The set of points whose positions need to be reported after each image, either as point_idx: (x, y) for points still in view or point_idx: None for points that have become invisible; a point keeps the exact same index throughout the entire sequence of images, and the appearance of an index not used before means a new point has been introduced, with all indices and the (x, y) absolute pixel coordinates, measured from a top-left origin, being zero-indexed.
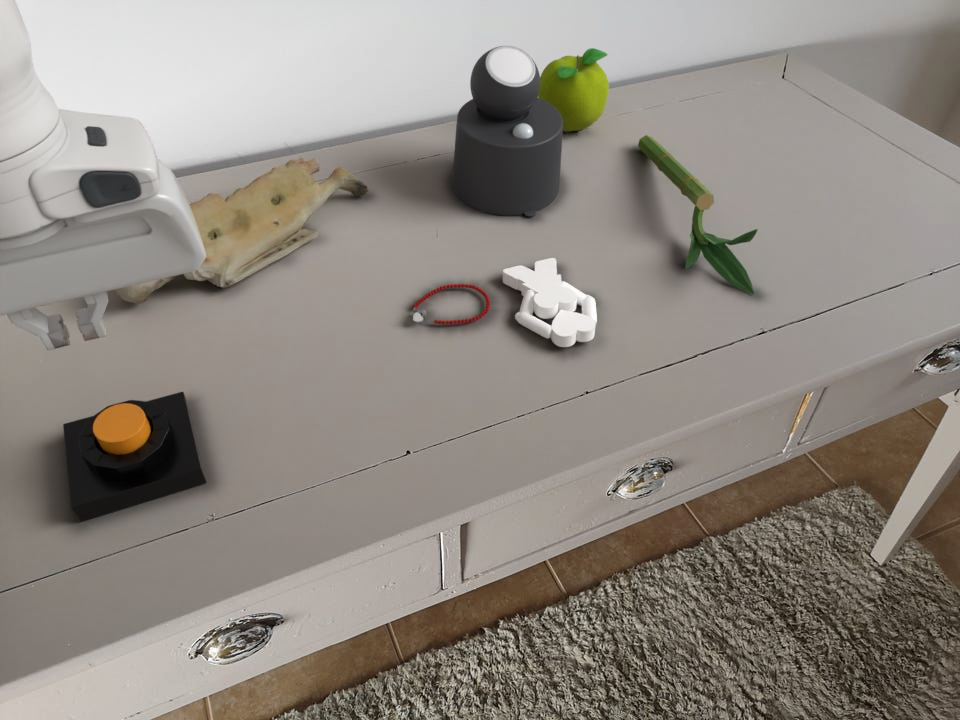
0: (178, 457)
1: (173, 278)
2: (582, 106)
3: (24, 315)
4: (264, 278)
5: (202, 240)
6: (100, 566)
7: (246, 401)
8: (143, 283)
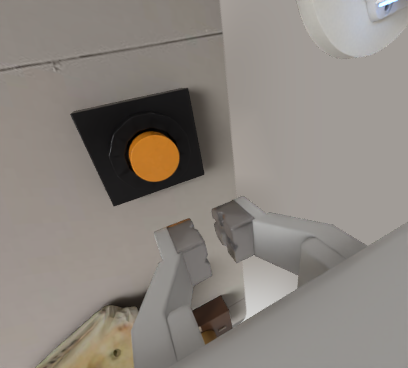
0: (99, 131)
1: None
2: None
3: (321, 245)
4: (76, 320)
5: (124, 346)
6: (157, 34)
7: (57, 203)
8: None
